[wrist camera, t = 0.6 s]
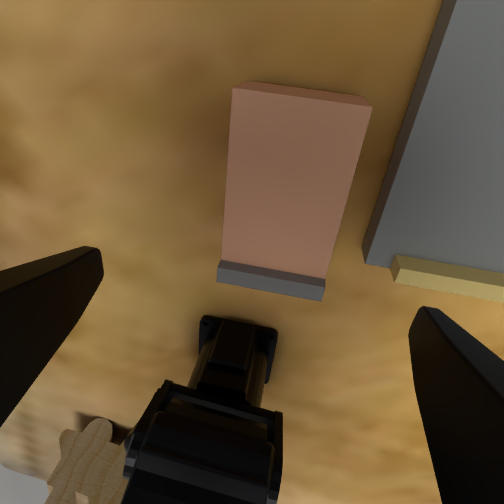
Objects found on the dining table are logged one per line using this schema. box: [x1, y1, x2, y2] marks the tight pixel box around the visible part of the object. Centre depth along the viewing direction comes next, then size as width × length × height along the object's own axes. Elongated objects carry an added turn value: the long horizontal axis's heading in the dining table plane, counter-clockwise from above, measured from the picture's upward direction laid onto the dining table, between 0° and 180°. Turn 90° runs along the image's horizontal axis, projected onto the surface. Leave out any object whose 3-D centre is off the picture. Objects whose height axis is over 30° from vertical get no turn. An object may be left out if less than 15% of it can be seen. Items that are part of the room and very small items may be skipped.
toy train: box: [45, 418, 129, 504], centre depth 37 cm, size 6×17×10 cm, turn 75°
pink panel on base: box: [217, 81, 373, 301], centre depth 18 cm, size 10×6×5 cm, turn 174°
